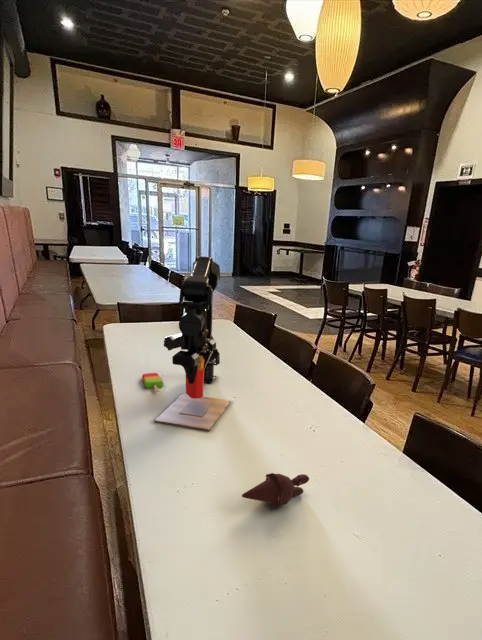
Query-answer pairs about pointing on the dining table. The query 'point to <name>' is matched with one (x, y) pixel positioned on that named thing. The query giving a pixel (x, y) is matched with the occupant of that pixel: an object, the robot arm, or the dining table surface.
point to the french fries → (196, 382)
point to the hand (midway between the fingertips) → (195, 379)
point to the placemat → (193, 412)
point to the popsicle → (152, 381)
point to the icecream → (277, 489)
